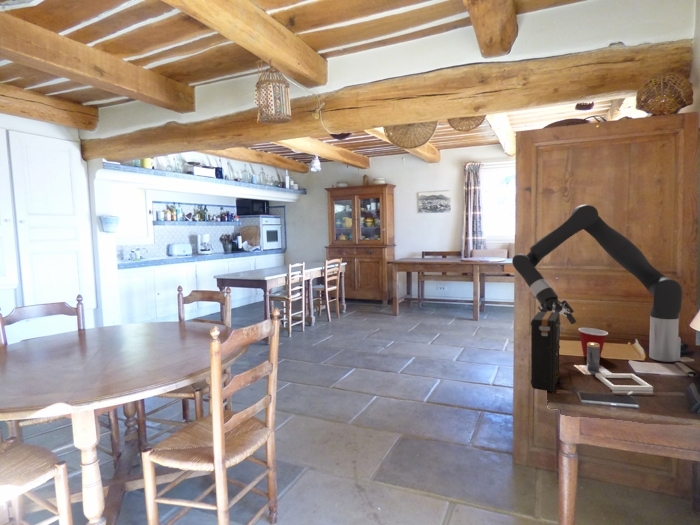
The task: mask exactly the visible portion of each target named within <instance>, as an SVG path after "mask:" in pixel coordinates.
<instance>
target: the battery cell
mask: <svg viewBox="0 0 700 525" xmlns="http://www.w3.org/2000/svg"><path fill="white" fill-rule="evenodd" d="M599 348H600V344H598V343H594V342H589V343H587V357H586V365H587V370H589V371H595V372H596V371H599V365H600V358H599Z"/></svg>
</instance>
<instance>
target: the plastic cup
mask: <svg viewBox="0 0 700 525" xmlns="http://www.w3.org/2000/svg"><path fill="white" fill-rule="evenodd" d="M577 330H578V332H579V337H580V342H581V349H582V353H583V357H585V358H587V343H589V342H594V343H598V344H600V348H599V359H600V358H601V355H602V352H603V349H604V344H605V340H606V338H607V336H608V335H609V332H608V331H605V330H601V329H598V328H593V327H592V328H591V327H579V328H578V329H577Z"/></svg>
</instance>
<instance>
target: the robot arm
mask: <svg viewBox="0 0 700 525" xmlns="http://www.w3.org/2000/svg"><path fill="white" fill-rule="evenodd" d="M582 230H584V231H585V232H587V233H588V234H589V235H591V237H593V239H595V241H596V242H597V243H598V244H599V245H600V247H601V248H602V249H603V250H604V251H605V252H606V253H607V254H608V255H609V256H610V257H611V258H612V259H613V260H614V261H615V262H616V263H618V264H619V265H620V266H621V267H622V268H624V269H625V270H626V271H628V272H629V273H631V275H633V276H634V277H635V278H636V279H637V280H638V281H639V282H640V283H641V284H642V285H643V286H644V288H646V290H647V291H648V292H649V293H650V295H651V296H653V301H652V302H653V305H652V308H651V309H650V311H649V314H650V315H649V345H648V346H649V347H648V349H649V350H648V351H649V352H648V356H649V358H650V359H652V360H655V361H659V362H668V363H672V362H674V363H675V362H678V361H681V345H682V344H681V342H682V340H681V337H680V336H679V320H680V318H679V317H680V313H681V310H682V302H683V300H682V298H683V290H682V288H683V287H682V285H681V284H680V283H679V282H678V281H677V280H674V279H673V278H670V277H667V276H666V275H664V274H663V273H661V272H660V271H659V270H658V269H656V267H655V266H653V265H652V264H651V263H650V262H649V260H648V259H647V258H646V256H645V255H644V254H643V251H641V250H640V248H638V247H637V245H635V244H634V243H633V242H632V241H631V240H630V239H629V238H627V237H626V236H625V235H624V234H622V233H620V232H619V231H618V230H617V229H614V228H612V227H611V226H610V225H608V224H607V222H605V221H604V220H603V218H601V217H600V215H599V211H598V209H597V207H595V206H593V205H590V204H581V205H578V206H576V207H575V208H574V209H573V210H572V212H571V215H570V216H569V218H567V219H566V221H564V222H563V223H562V224H561V225H559V226H558V227H557V228H555V229H553V230H552V231H551V232H549V233H547V234H545V235H544V236H543V237H541V238H540V239H539V240H538V241H536V242H535V243H534V244H533V245H531V246H530V248H529V249H530V250H529V252H528V253H527V254H524V253H517V254H515V255H514V256H513V257H512V260H511V263H512V265H513V268H514V269H515V270H516V271H517V273H518V274H520V276H521V277H522V278H523V280H524V281H525V283H526V284H527V286H528V287H529V289H530V290H531V292H532V294H533V296H534V297H535V298H536V300H537V302H538V303H539V306H538V307H537V308H538V309H539V312H547V311H551V312H553V313H556V312H558V313H559V314H560V315H563V316H565V317H566V319H567V320H568V321H569V323H570V324H571V325H575V323H577V320H576V319H575V317H574V315H573V313H574V312H575V310H574V309H573V308H572V307H571V305H570V304H569V303H568V302H567V300H563V301H560V300H559V299H558V298H559V294H557V292H556V290H554V288H553V287H552V286H551V285H550V283H549V282H548V281H547V279H545V278H544V276H543V274H541V272H540V271H539V270H538V269H537V268H536V266H538V264H539V263H540V262H541V261H542V260H543V259H544V258H545V257H546V256H548V255H549V254H550V253H552V252H553V251H555V249H558V247H559V246H561V245H562V244H563V243H564V242H566V241H567V240H568V239H570V238H571V237H572V236H574V235H576V234H577V233H579V232H581V231H582ZM559 324H560V325H561V321H559Z"/></svg>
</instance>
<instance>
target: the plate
mask: <svg viewBox="0 0 700 525" xmlns="http://www.w3.org/2000/svg"><path fill="white" fill-rule="evenodd" d="M573 367H575V368H576V369H578V371H580V372H581V373H582V374H583V375H596V373H612V372H611V371H609V369H606V368H605V367H604V366H603V365H601V364H599V371H596V372H595V371H589V370H587V364H586V365H585V364H584V365H583V364H580V365H578V364H577V365H576V364H574V365H573Z"/></svg>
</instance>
